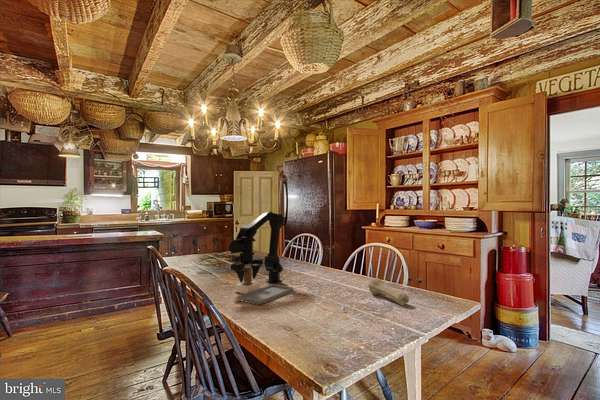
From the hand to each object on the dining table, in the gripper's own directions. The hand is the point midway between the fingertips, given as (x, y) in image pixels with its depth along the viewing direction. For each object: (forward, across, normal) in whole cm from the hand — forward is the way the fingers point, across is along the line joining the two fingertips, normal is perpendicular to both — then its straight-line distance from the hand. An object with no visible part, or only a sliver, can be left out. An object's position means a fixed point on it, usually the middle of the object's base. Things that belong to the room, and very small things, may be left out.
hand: (247, 280), depth 161 cm
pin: (+6, 0, 0) cm, 6 cm away
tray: (+6, 0, +13) cm, 14 cm away
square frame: (+6, 0, 0) cm, 6 cm away
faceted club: (+6, -26, +66) cm, 71 cm away
